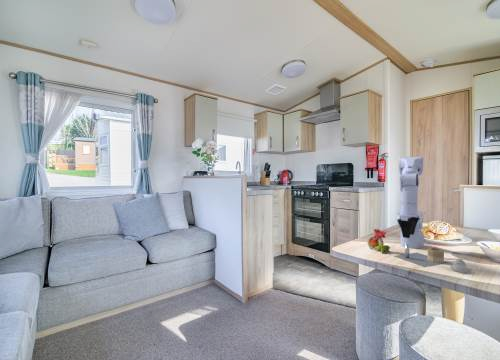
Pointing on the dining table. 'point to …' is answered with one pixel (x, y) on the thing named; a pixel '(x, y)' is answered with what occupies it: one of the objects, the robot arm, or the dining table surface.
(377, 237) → the bird rattle
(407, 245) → the steel post
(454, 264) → the pale two-lobed sculpture
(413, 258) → the lacing board
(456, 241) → the dining table surface
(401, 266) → the dining table surface
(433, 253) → the brown wooden block
